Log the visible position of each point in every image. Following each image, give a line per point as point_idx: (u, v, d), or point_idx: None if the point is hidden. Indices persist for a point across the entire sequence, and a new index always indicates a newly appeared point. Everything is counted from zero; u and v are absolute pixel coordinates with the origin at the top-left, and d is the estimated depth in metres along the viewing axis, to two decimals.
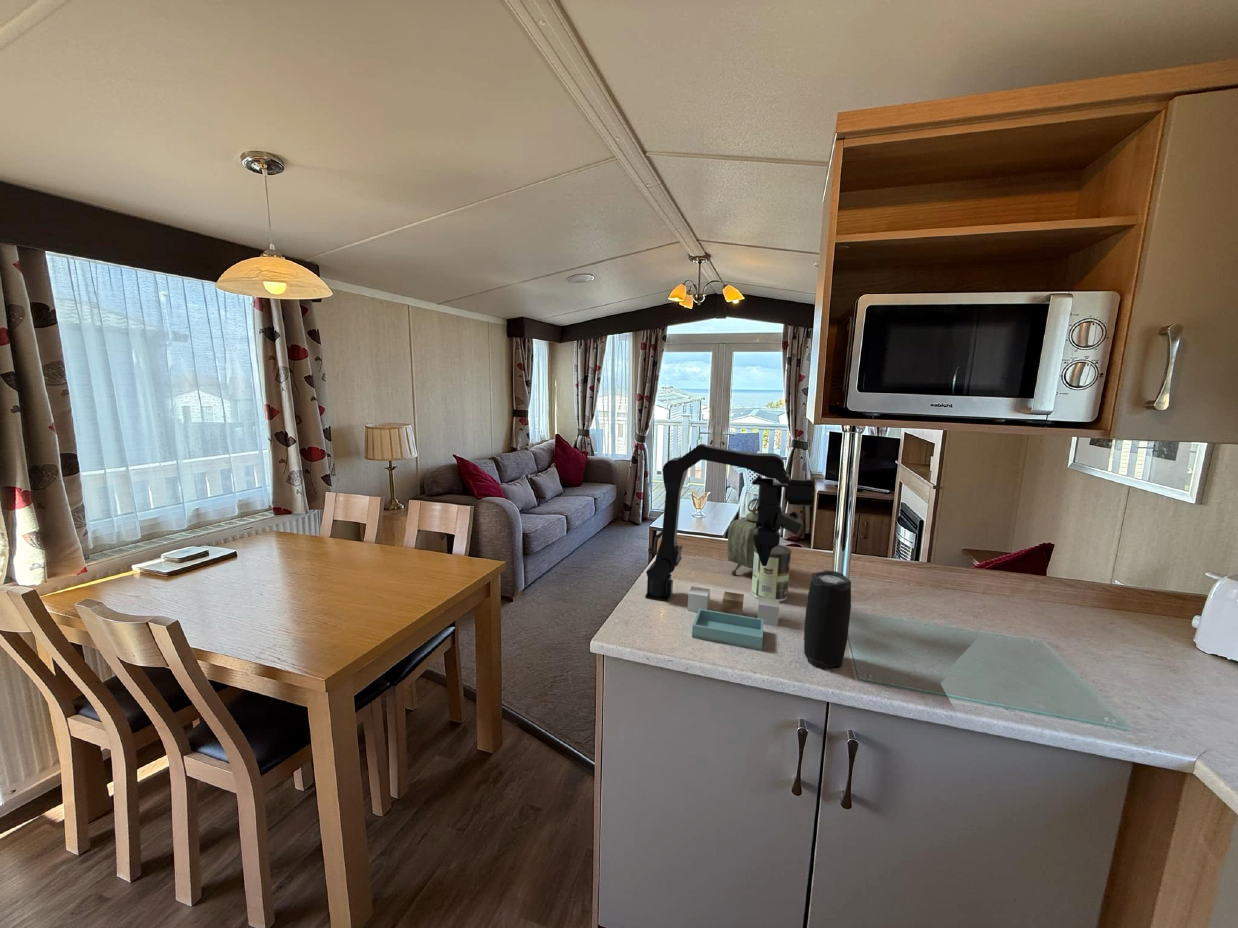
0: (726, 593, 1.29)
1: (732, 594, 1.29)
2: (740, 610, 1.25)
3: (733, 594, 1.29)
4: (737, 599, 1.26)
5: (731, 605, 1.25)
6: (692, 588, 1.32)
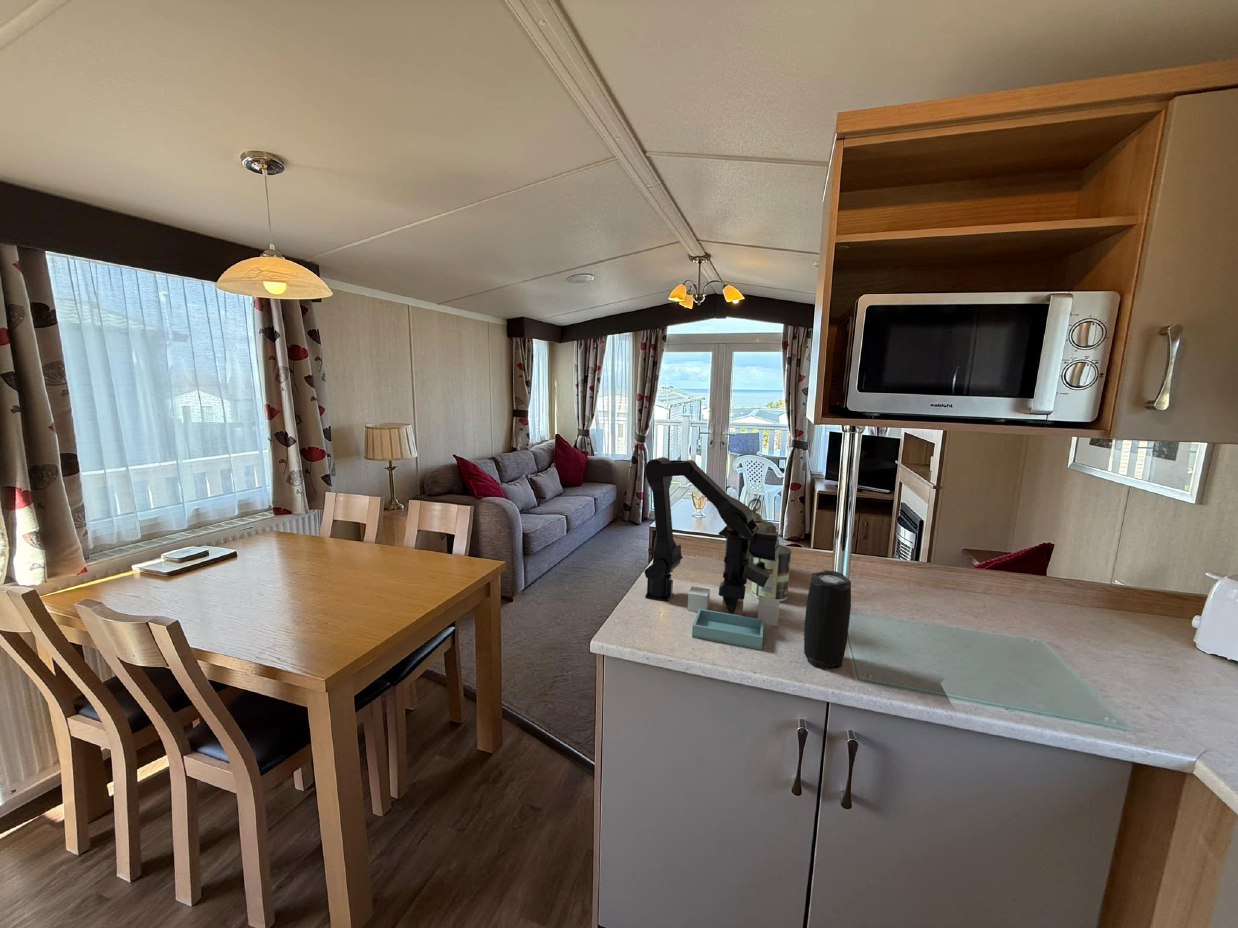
0: None
1: None
2: (740, 610, 1.25)
3: None
4: None
5: None
6: (692, 588, 1.32)
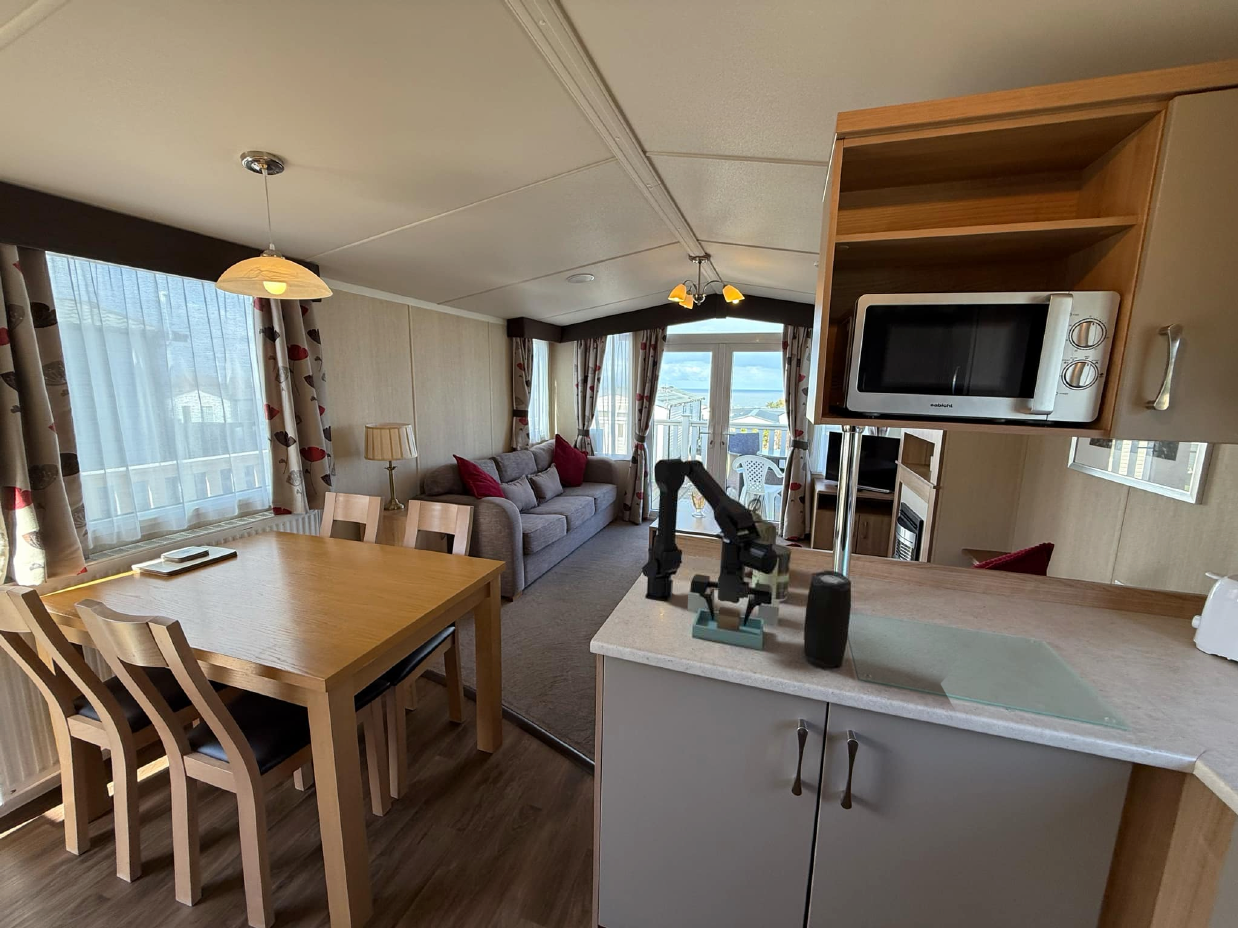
0: (735, 609, 1.18)
1: (735, 612, 1.16)
2: (717, 623, 1.15)
3: (735, 612, 1.16)
4: (722, 613, 1.16)
5: None
6: None
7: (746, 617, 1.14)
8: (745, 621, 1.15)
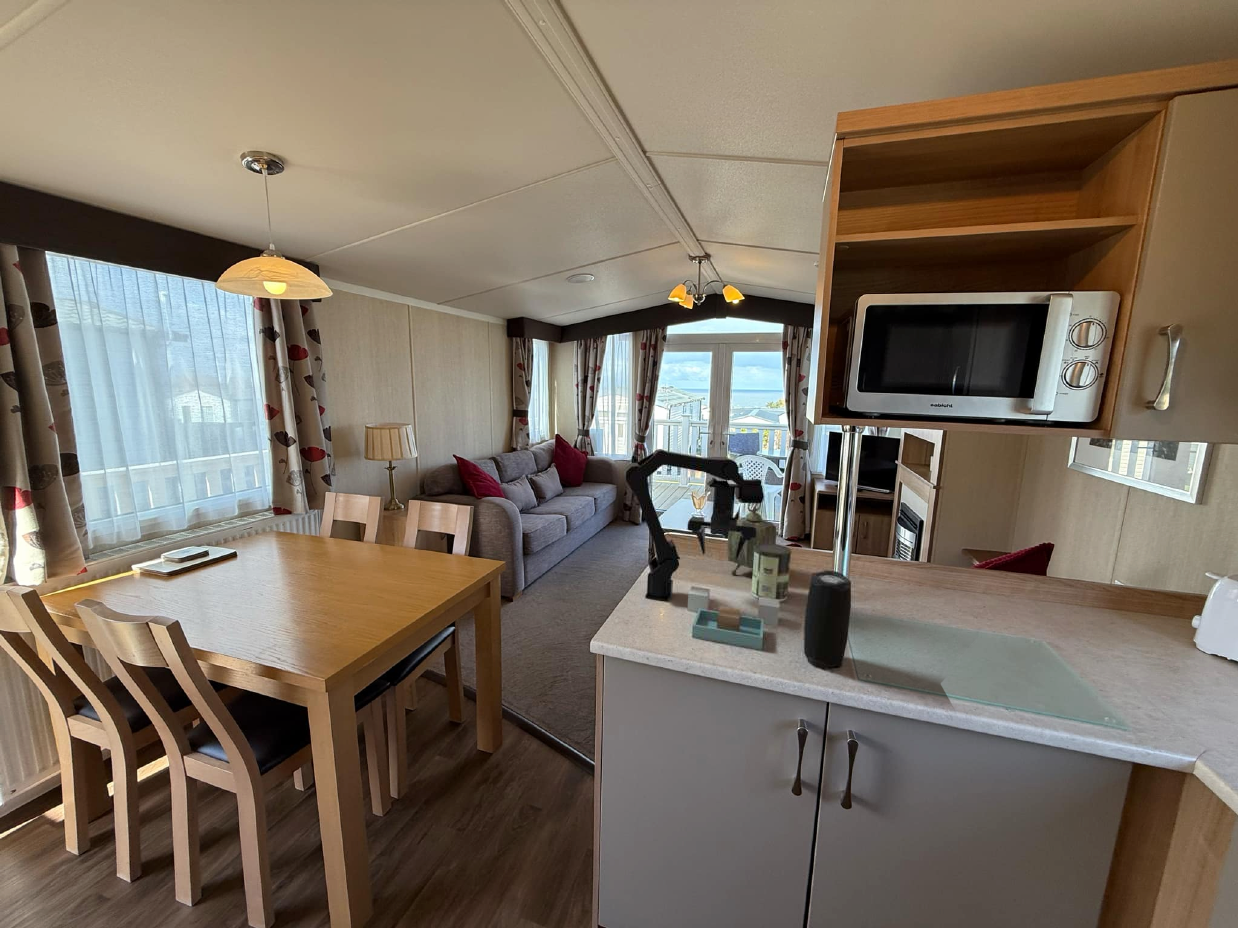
0: (735, 609, 1.18)
1: (735, 612, 1.16)
2: (717, 623, 1.15)
3: (735, 612, 1.16)
4: (722, 613, 1.16)
5: None
6: (692, 588, 1.32)
7: (738, 551, 1.34)
8: (737, 555, 1.35)
